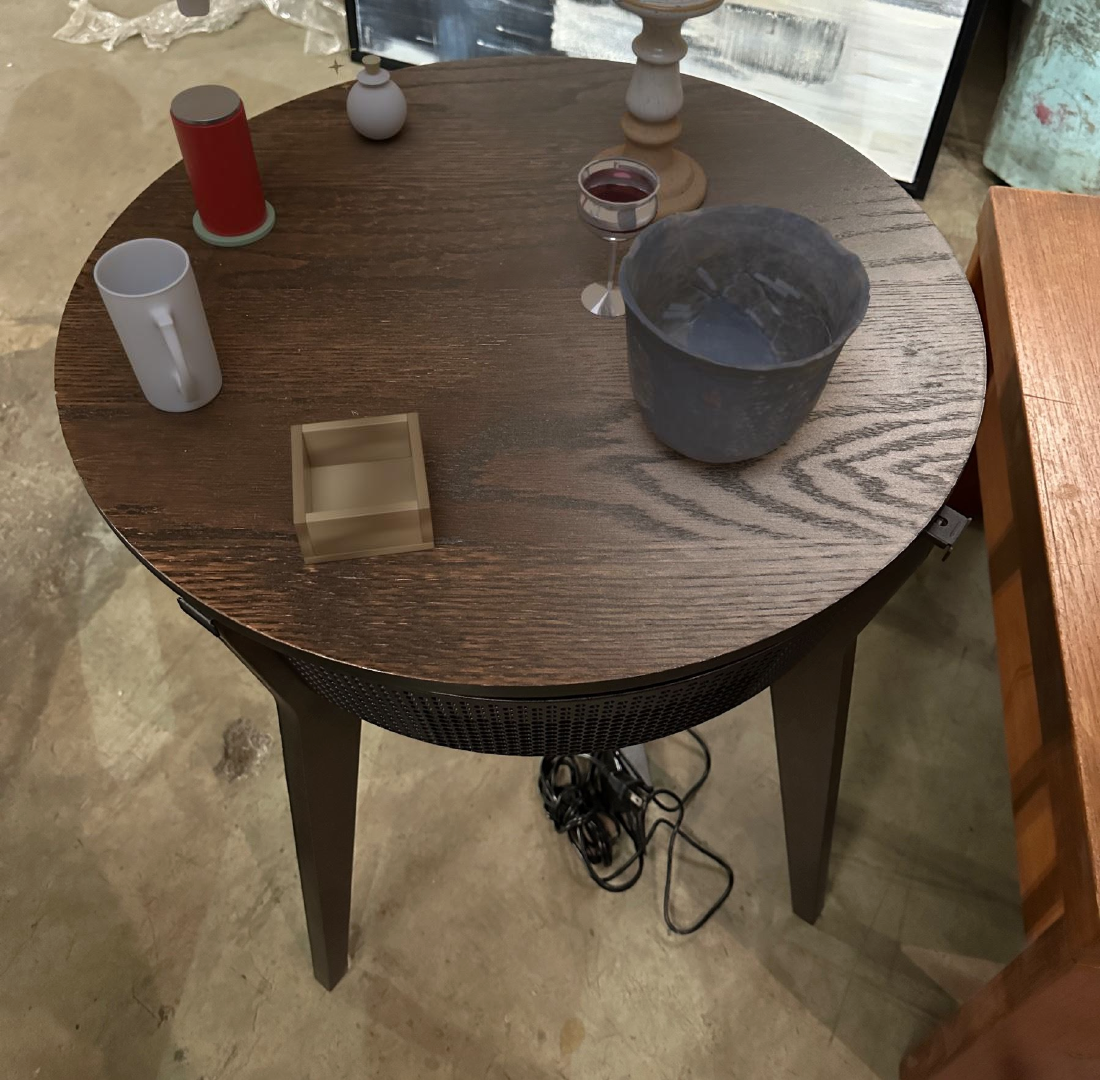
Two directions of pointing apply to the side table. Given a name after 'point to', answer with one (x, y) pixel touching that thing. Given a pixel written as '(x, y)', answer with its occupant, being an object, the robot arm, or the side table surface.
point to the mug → (160, 322)
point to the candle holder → (661, 102)
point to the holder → (360, 488)
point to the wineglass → (615, 217)
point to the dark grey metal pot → (736, 325)
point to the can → (219, 159)
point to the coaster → (236, 240)
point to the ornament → (375, 101)
